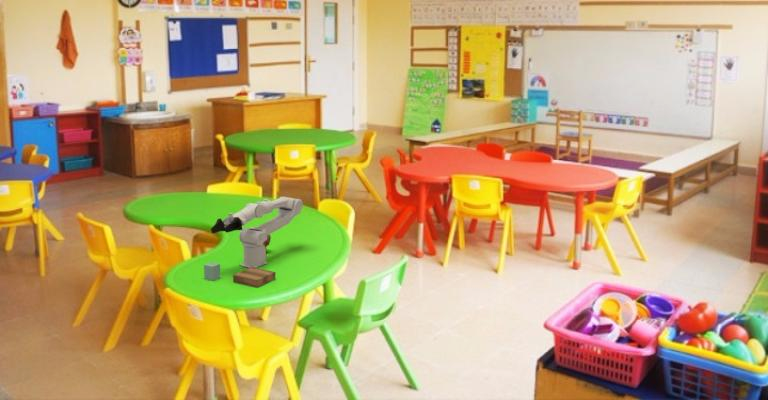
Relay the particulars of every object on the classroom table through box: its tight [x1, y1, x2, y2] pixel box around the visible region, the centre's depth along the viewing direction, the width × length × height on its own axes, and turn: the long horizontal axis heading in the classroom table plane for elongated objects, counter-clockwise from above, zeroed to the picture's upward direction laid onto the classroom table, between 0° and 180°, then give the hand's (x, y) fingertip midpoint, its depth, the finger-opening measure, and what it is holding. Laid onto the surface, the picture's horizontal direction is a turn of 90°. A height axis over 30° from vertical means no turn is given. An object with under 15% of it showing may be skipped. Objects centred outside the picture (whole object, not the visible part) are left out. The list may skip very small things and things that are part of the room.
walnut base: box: [232, 267, 276, 288], centre depth 320 cm, size 12×12×3 cm
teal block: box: [203, 261, 221, 282], centre depth 321 cm, size 4×4×6 cm
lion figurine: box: [263, 234, 272, 255], centre depth 353 cm, size 15×5×9 cm, turn 137°
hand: (218, 230), depth 317 cm, fingers open, 7 cm apart
